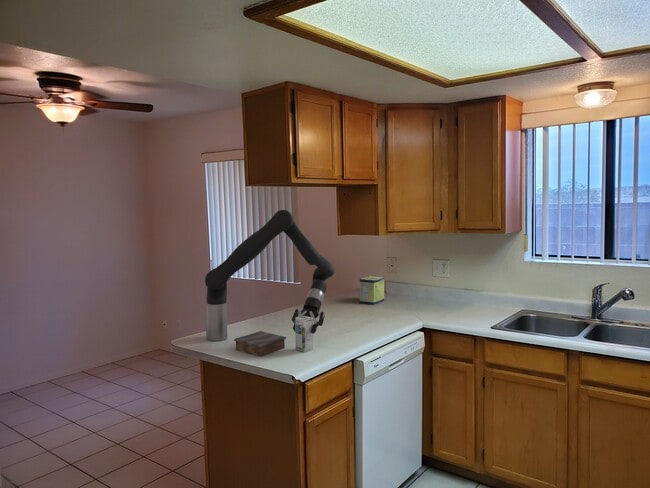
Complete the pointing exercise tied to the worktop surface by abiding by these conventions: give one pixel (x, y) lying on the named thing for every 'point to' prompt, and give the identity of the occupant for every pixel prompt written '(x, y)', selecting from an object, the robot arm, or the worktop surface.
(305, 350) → the syrup box
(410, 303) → the worktop surface
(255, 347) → the podium
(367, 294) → the protein box
